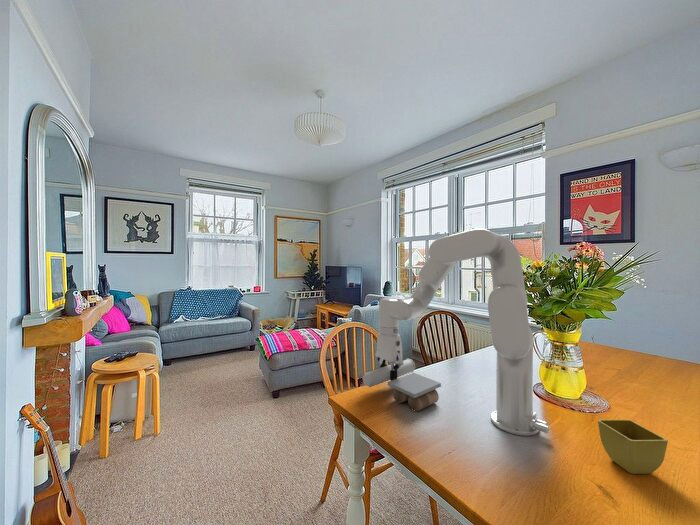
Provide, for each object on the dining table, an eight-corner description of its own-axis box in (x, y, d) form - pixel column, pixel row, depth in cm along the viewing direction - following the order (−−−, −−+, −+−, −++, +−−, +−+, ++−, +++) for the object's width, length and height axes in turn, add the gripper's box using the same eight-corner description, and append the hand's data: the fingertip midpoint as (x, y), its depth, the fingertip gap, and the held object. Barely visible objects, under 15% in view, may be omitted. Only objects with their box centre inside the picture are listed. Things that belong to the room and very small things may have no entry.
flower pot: (630, 454, 73) (630, 418, 73) (669, 480, 64) (669, 440, 64) (596, 454, 73) (596, 419, 73) (631, 481, 64) (631, 440, 64)
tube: (370, 379, 100) (416, 363, 116) (361, 370, 104) (407, 355, 120) (367, 392, 102) (413, 374, 117) (358, 382, 106) (404, 366, 121)
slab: (440, 386, 100) (440, 383, 100) (414, 398, 91) (414, 394, 91) (413, 375, 110) (413, 372, 110) (387, 385, 101) (387, 381, 101)
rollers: (438, 404, 98) (438, 390, 98) (419, 414, 92) (419, 398, 92) (411, 392, 108) (411, 378, 108) (392, 399, 102) (392, 385, 102)
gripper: (412, 333, 106) (412, 382, 106) (380, 325, 119) (380, 368, 119) (398, 336, 101) (398, 388, 101) (367, 327, 115) (366, 373, 115)
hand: (388, 377), depth 110 cm, fingers closed on tube, 4 cm apart
